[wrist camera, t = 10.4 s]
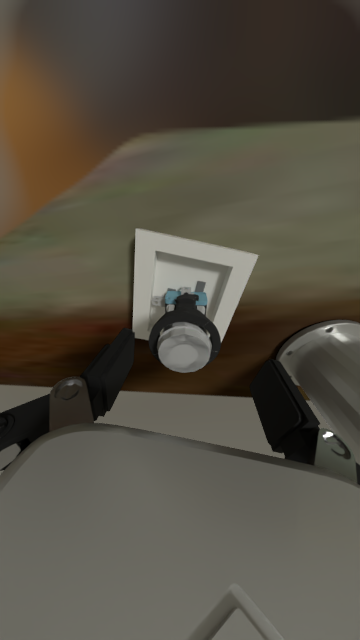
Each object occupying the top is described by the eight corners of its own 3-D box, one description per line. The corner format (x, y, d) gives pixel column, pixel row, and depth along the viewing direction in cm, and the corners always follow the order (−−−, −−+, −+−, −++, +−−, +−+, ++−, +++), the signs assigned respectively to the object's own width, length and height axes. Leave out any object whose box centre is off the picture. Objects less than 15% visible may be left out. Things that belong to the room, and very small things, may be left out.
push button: (155, 315, 20) (131, 377, 12) (152, 275, 18) (119, 318, 9) (205, 317, 20) (217, 382, 12) (210, 277, 18) (230, 324, 9)
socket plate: (250, 252, 17) (258, 255, 15) (214, 342, 23) (216, 352, 22) (141, 228, 16) (135, 228, 14) (136, 328, 23) (132, 337, 21)
